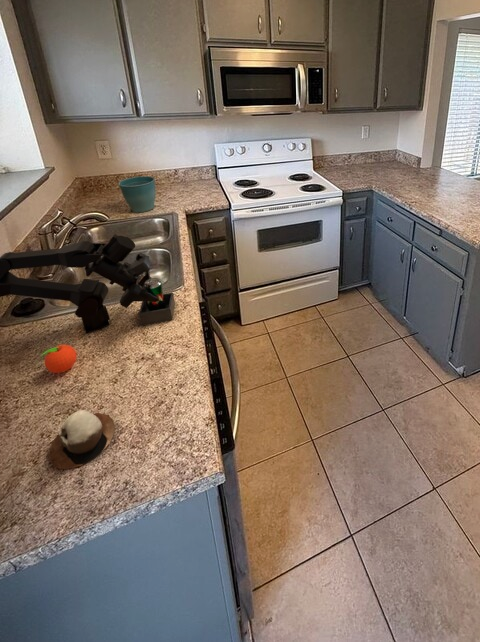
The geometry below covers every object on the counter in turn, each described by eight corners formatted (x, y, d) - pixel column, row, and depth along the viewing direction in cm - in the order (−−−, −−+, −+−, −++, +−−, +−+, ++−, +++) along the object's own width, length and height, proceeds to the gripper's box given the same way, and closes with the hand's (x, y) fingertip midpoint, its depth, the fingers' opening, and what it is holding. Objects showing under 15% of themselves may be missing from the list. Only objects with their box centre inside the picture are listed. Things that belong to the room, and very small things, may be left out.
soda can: (151, 309, 119) (144, 278, 114) (167, 306, 120) (161, 276, 116) (148, 318, 114) (141, 287, 110) (165, 316, 116) (159, 284, 111)
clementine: (39, 382, 92) (30, 361, 89) (50, 362, 98) (42, 342, 96) (74, 375, 94) (67, 354, 91) (83, 356, 100) (76, 336, 98)
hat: (31, 450, 75) (57, 399, 77) (79, 442, 83) (101, 397, 86) (58, 481, 69) (85, 424, 71) (107, 470, 77) (130, 419, 80)
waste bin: (141, 325, 112) (138, 314, 111) (146, 307, 120) (143, 297, 119) (172, 319, 115) (170, 308, 113) (175, 303, 123) (173, 292, 121)
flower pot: (129, 218, 192) (122, 188, 186) (121, 208, 205) (115, 180, 199) (164, 209, 203) (158, 181, 197) (154, 201, 216) (149, 174, 210)
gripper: (123, 267, 99) (172, 294, 106) (137, 238, 116) (178, 263, 123) (98, 295, 100) (148, 320, 107) (115, 263, 117) (157, 286, 124)
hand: (159, 295), depth 115 cm, fingers closed on soda can, 5 cm apart
